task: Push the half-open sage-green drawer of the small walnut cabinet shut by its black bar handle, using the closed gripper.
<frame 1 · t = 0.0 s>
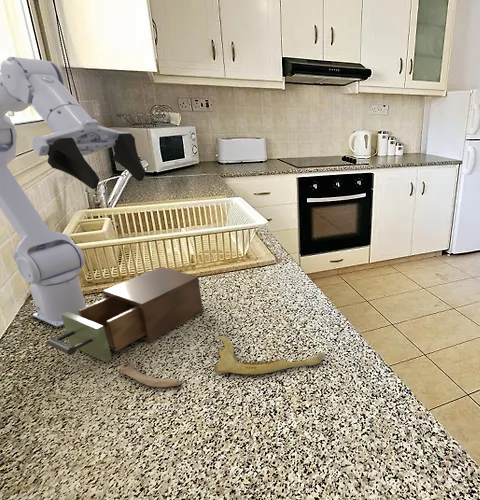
hand: (120, 180, 59), 32 cm above the countertop, tool tilted 50°, fingers open, 7 cm apart
bone: (149, 381, 63), on the countertop
jawbone: (260, 360, 69), on the countertop
drawer: (105, 326, 70), point 4 cm above the countertop, slide at 7.0 cm
cabinet: (159, 318, 81), on the countertop
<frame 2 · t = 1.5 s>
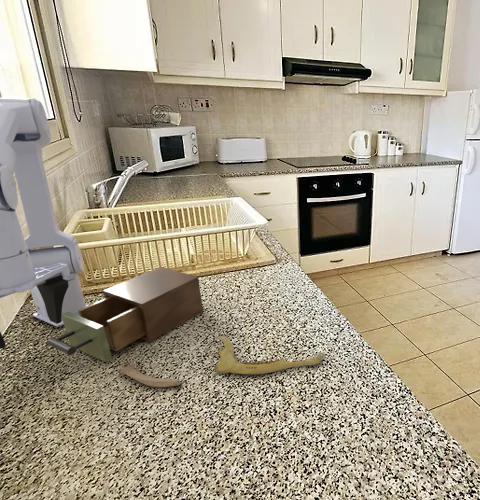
hand: (29, 333, 59), 9 cm above the countertop, tool pointing down, fingers open, 7 cm apart
nothing on the countertop moved.
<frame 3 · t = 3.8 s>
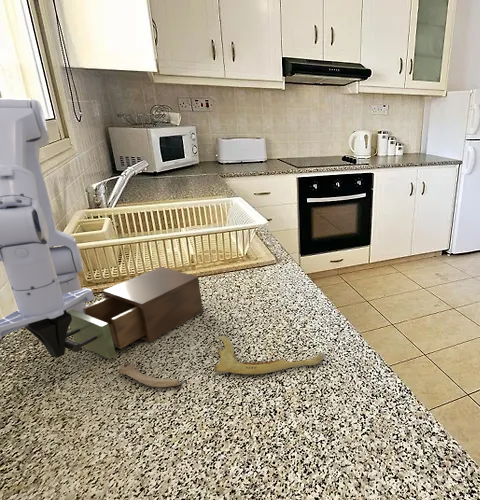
hand: (57, 354, 63), 4 cm above the countertop, tool pointing down, fingers closed
drawer: (110, 324, 71), point 4 cm above the countertop, slide at 6.2 cm, touching gripper
everything else where it was.
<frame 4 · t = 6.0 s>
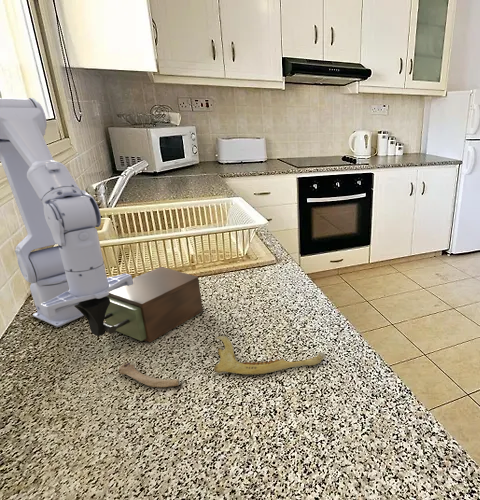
hand: (100, 332, 69), 4 cm above the countertop, tool pointing down, fingers closed, pressing on drawer
drawer: (139, 309, 76), point 4 cm above the countertop, slide at 0.0 cm, touching cabinet, gripper
everything else where it was.
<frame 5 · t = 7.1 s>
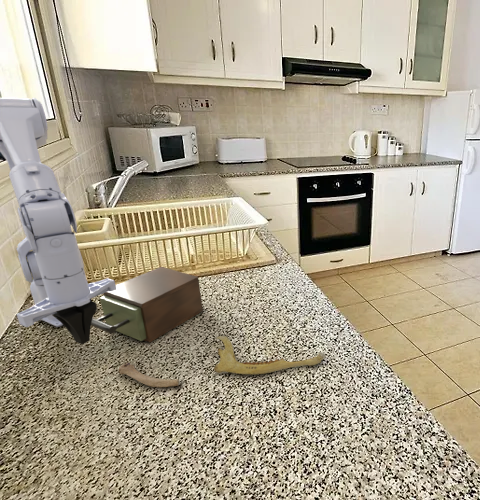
hand: (82, 341, 67), 4 cm above the countertop, tool pointing down, fingers closed
drawer: (139, 309, 76), point 4 cm above the countertop, slide at 0.0 cm, touching cabinet
everything else where it was.
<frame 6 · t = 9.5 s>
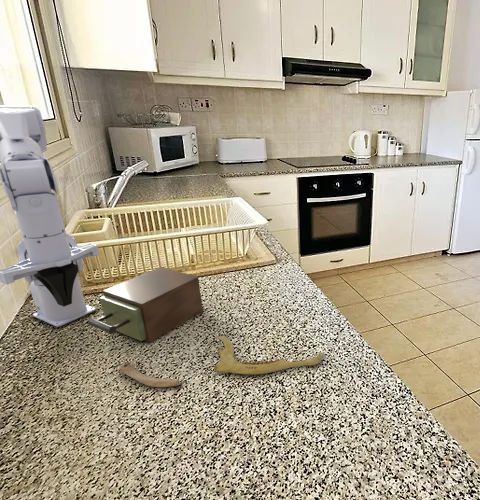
hand: (64, 303, 68), 9 cm above the countertop, tool pointing down, fingers closed
nothing on the countertop moved.
at the end: drawer slide at 0.0 cm; bone moved 0.2 cm from its start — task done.
